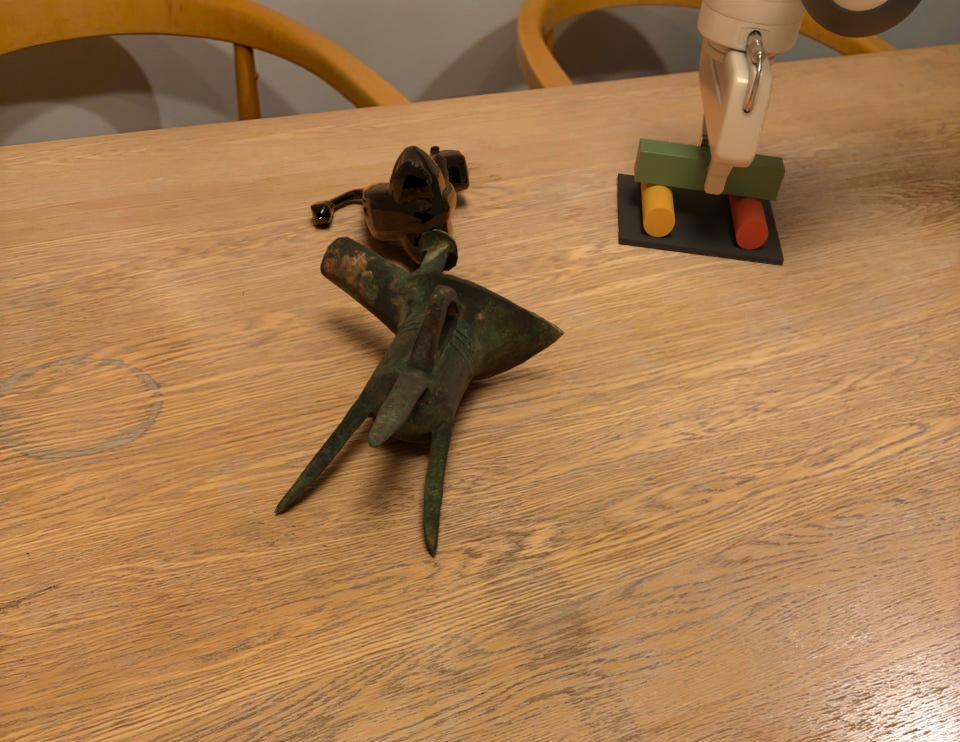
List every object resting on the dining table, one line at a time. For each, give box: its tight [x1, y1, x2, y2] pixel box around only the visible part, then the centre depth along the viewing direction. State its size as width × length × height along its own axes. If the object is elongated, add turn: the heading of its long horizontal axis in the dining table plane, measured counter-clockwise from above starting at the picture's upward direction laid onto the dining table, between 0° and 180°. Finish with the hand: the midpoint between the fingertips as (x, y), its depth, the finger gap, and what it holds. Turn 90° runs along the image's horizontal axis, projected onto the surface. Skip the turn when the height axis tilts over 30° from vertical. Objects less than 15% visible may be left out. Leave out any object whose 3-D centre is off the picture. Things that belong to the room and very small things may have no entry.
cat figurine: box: [309, 145, 471, 267], centre depth 95 cm, size 10×14×18 cm
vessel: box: [273, 229, 565, 557], centre depth 73 cm, size 19×12×25 cm
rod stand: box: [616, 172, 785, 266], centre depth 102 cm, size 16×14×4 cm
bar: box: [633, 137, 786, 202], centre depth 99 cm, size 14×3×3 cm, turn 85°
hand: (709, 172), depth 100 cm, fingers open, 7 cm apart
